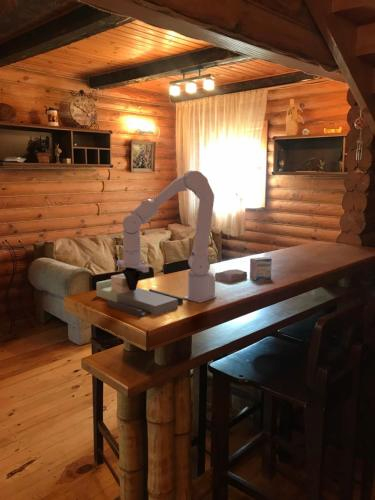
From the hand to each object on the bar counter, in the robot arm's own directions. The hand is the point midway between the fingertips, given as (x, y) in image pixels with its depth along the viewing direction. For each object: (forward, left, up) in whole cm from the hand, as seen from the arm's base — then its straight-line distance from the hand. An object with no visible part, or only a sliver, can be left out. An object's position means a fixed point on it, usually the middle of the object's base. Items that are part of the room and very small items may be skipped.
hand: (132, 289), depth 147 cm
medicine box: (-57, +15, -4) cm, 59 cm away
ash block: (0, -5, -1) cm, 5 cm away
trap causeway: (0, +1, -4) cm, 4 cm away
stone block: (-47, +6, -5) cm, 48 cm away
